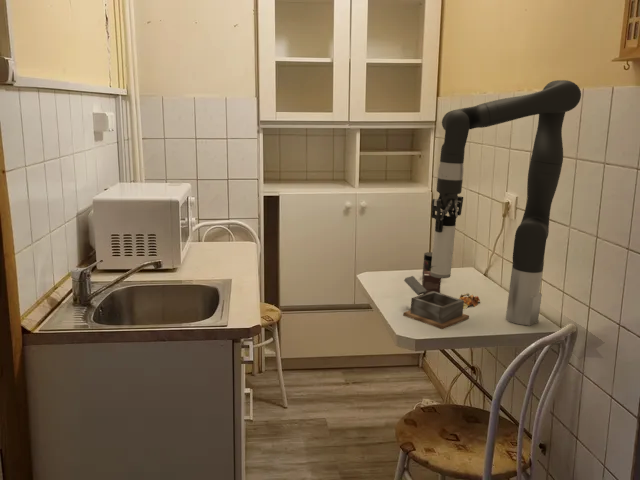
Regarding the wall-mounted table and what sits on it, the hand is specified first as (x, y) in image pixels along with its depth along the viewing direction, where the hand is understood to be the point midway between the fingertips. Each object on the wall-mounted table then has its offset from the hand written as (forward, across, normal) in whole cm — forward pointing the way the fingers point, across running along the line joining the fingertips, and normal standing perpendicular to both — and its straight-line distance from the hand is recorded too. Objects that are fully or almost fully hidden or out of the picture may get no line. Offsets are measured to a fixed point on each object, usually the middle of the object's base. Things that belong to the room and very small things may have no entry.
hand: (445, 230), depth 185 cm
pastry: (+29, +19, +1) cm, 35 cm away
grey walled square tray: (+29, 0, 0) cm, 29 cm away
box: (+29, +20, +16) cm, 39 cm away
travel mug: (+15, 0, 0) cm, 15 cm away
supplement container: (+29, +33, +25) cm, 50 cm away
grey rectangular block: (+21, 0, +9) cm, 23 cm away
